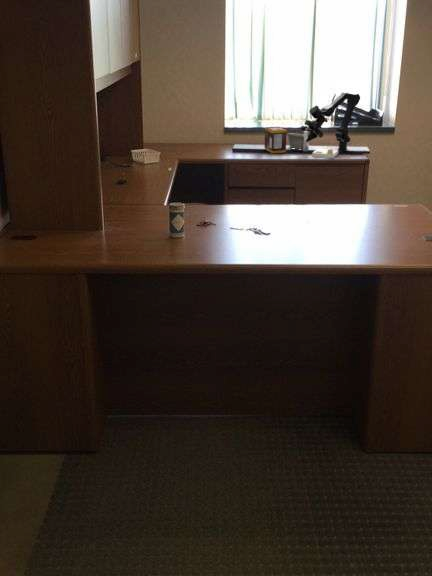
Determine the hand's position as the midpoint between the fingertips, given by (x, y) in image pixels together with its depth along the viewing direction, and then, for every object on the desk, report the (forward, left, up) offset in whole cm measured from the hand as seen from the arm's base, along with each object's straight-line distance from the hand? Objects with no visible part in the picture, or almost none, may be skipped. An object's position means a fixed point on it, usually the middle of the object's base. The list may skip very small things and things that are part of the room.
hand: (304, 141), depth 427 cm
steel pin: (-1, +1, -7) cm, 7 cm away
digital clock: (-21, -10, -10) cm, 26 cm away
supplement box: (-8, -23, -10) cm, 27 cm away
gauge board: (-7, +13, -10) cm, 18 cm away
